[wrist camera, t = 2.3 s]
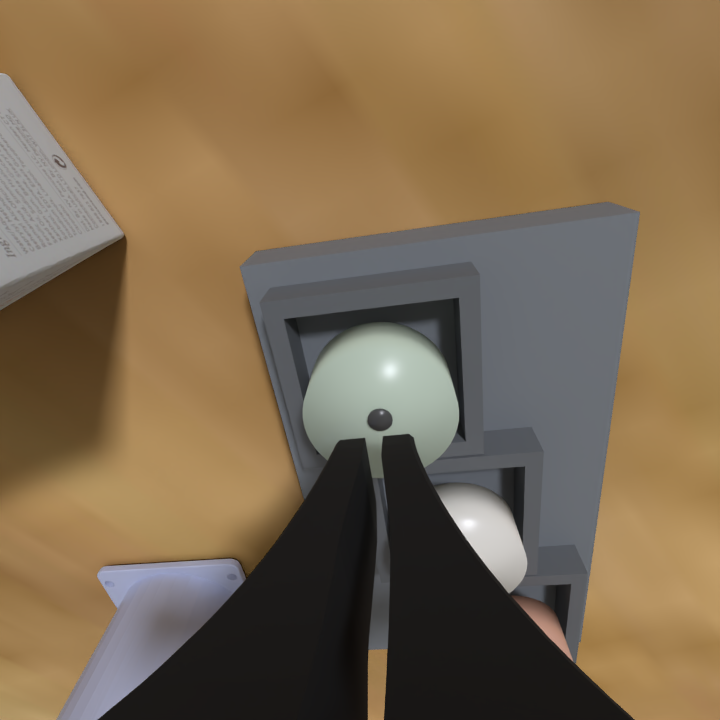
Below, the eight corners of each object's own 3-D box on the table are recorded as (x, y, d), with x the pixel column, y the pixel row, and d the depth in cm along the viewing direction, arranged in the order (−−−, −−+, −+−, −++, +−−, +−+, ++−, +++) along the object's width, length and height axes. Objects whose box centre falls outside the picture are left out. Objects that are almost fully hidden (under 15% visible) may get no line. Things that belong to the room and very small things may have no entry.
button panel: (565, 603, 24) (592, 672, 21) (348, 614, 25) (343, 679, 22) (608, 201, 14) (668, 221, 11) (255, 251, 16) (225, 279, 13)
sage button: (453, 435, 15) (462, 474, 13) (325, 446, 15) (318, 485, 14) (446, 313, 13) (456, 341, 11) (298, 331, 13) (286, 360, 12)
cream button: (512, 561, 17) (526, 607, 16) (402, 567, 18) (404, 613, 16) (514, 477, 15) (530, 520, 14) (389, 487, 16) (390, 529, 14)
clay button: (555, 653, 20) (571, 701, 18) (458, 657, 21) (465, 704, 19) (561, 592, 18) (579, 640, 16) (454, 598, 19) (461, 644, 17)
